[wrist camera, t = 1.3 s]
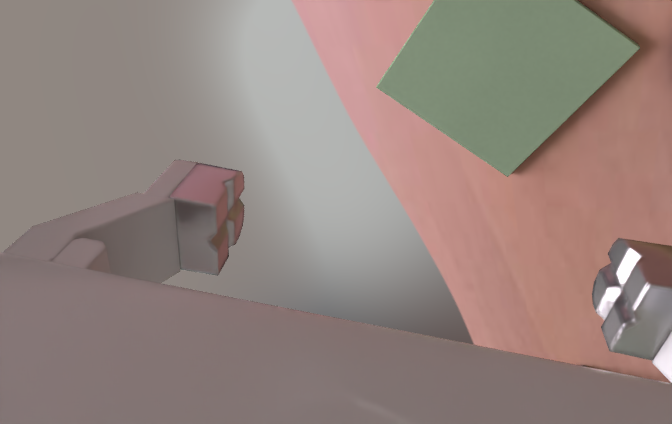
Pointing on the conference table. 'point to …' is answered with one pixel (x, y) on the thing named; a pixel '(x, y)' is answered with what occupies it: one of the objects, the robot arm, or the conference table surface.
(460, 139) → the sage mat
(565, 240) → the conference table surface
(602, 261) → the conference table surface
